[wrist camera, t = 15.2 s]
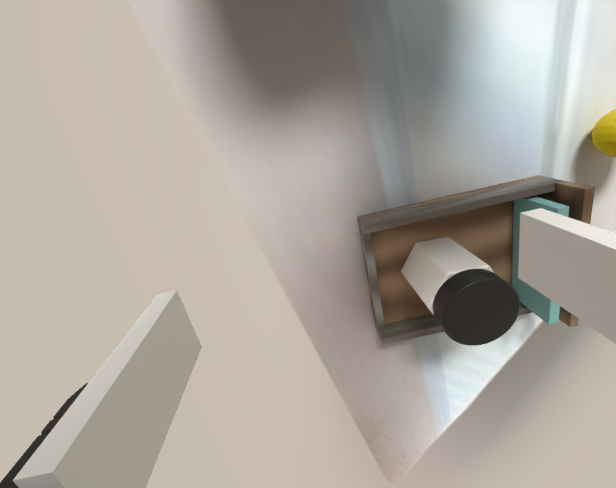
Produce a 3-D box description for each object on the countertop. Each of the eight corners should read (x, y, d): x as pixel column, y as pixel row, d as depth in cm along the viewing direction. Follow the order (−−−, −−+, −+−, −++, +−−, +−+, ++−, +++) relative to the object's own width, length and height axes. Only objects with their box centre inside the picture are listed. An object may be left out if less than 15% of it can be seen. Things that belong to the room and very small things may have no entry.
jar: (402, 296, 45) (439, 353, 33) (398, 244, 42) (437, 288, 31) (463, 284, 45) (522, 338, 33) (464, 232, 42) (528, 271, 30)
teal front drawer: (357, 216, 41) (372, 237, 34) (538, 175, 40) (594, 187, 33) (376, 327, 48) (391, 364, 40) (532, 293, 47) (577, 325, 39)
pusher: (514, 195, 40) (565, 211, 32) (529, 191, 40) (585, 207, 32) (511, 295, 45) (555, 329, 38) (525, 292, 45) (571, 325, 38)
